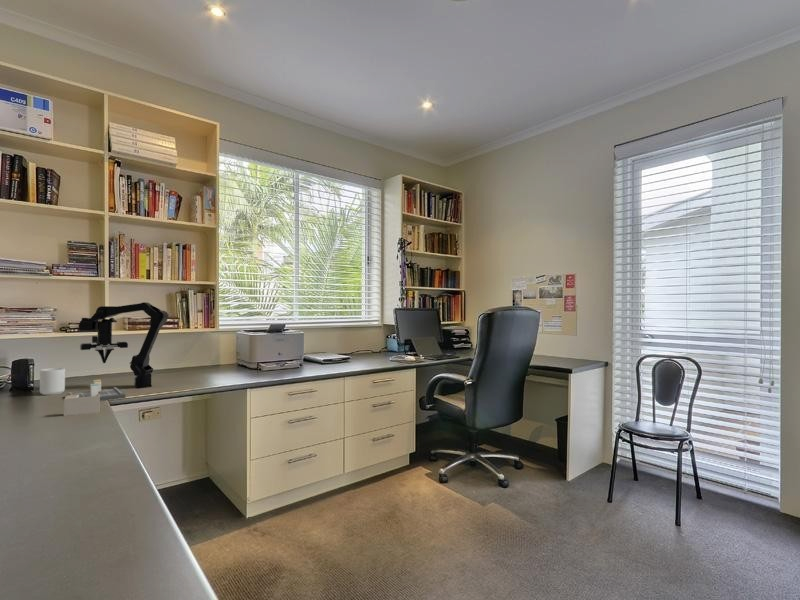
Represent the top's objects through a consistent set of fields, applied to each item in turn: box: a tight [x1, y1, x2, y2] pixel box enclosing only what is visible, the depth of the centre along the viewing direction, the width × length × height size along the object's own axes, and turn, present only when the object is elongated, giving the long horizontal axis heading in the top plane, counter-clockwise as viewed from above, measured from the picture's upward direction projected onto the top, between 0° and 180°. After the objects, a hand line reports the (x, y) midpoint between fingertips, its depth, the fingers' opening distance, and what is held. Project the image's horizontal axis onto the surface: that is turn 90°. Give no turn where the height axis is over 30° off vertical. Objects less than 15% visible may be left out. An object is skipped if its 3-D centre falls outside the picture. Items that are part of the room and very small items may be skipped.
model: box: [63, 392, 101, 417], centre depth 155 cm, size 3×11×8 cm, turn 117°
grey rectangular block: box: [93, 379, 102, 392], centre depth 186 cm, size 2×4×5 cm, turn 43°
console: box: [65, 387, 126, 402], centre depth 181 cm, size 19×18×2 cm
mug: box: [39, 367, 66, 396], centre depth 190 cm, size 12×9×11 cm
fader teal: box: [89, 382, 98, 396], centre depth 177 cm, size 2×4×5 cm, turn 43°
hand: (104, 363), depth 203 cm, fingers closed
